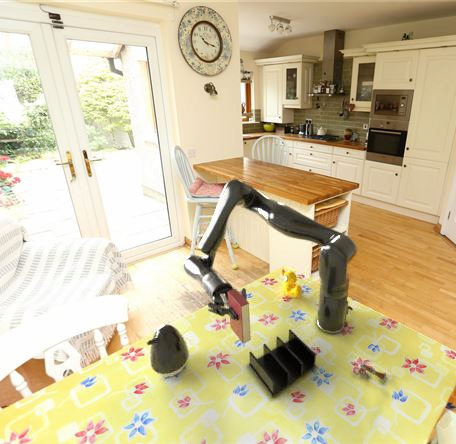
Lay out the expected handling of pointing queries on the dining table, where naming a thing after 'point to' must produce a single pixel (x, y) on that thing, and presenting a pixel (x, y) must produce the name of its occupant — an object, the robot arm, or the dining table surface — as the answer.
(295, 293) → the duckling
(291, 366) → the book rack
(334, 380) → the dining table surface
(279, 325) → the dining table surface
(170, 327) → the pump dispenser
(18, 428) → the dining table surface
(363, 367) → the brown two-tone jointed fixture
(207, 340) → the dining table surface
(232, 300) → the book
